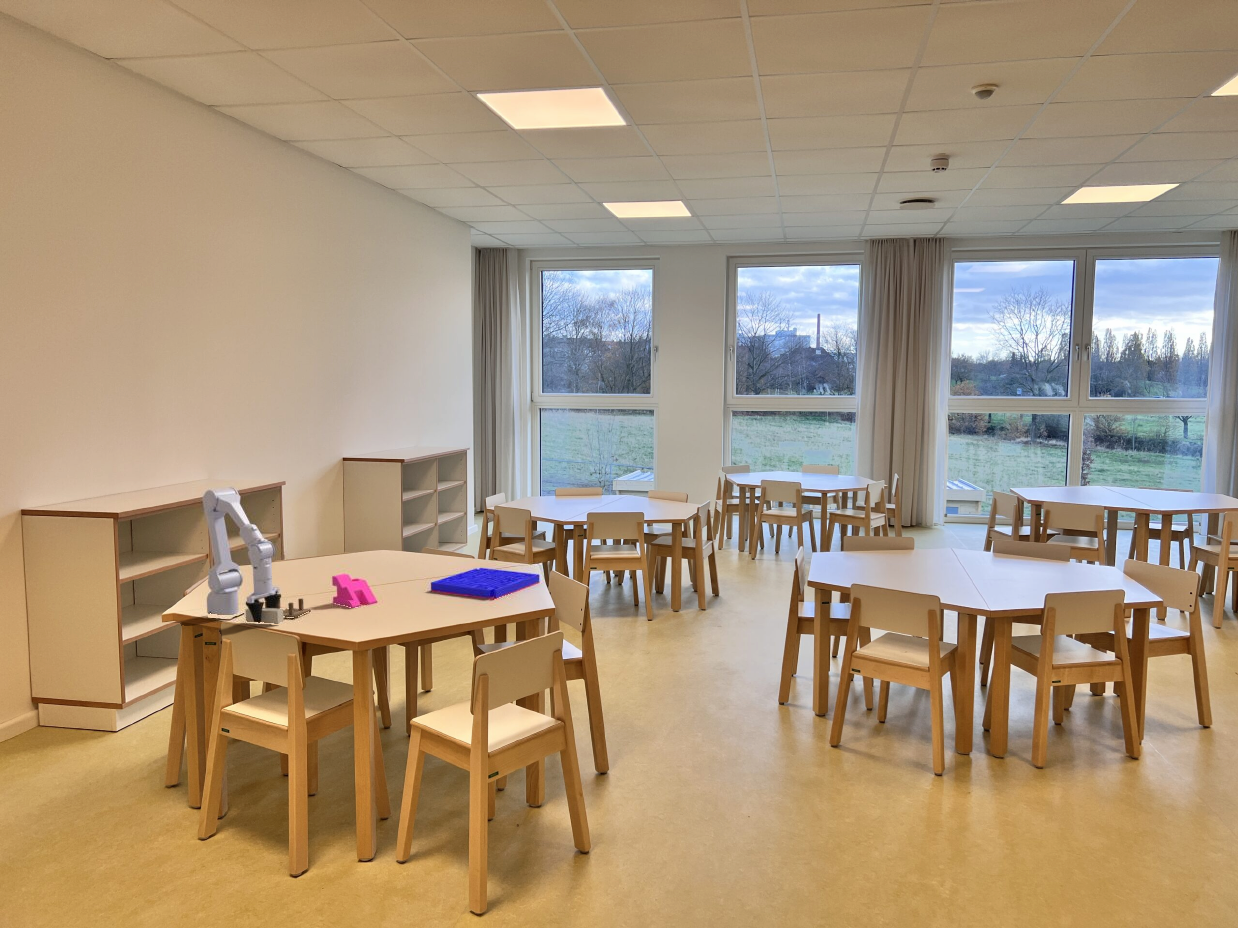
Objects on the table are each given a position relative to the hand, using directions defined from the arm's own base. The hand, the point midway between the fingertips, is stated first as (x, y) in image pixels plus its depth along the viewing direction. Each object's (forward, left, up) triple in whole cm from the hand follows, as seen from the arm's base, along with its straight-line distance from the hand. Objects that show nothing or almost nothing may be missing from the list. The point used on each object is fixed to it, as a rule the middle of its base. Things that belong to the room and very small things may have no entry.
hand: (264, 619), depth 275 cm
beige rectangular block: (0, 0, -2) cm, 2 cm away
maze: (+54, +62, -2) cm, 82 cm away
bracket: (+16, +30, -2) cm, 34 cm away
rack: (0, +11, -1) cm, 11 cm away
